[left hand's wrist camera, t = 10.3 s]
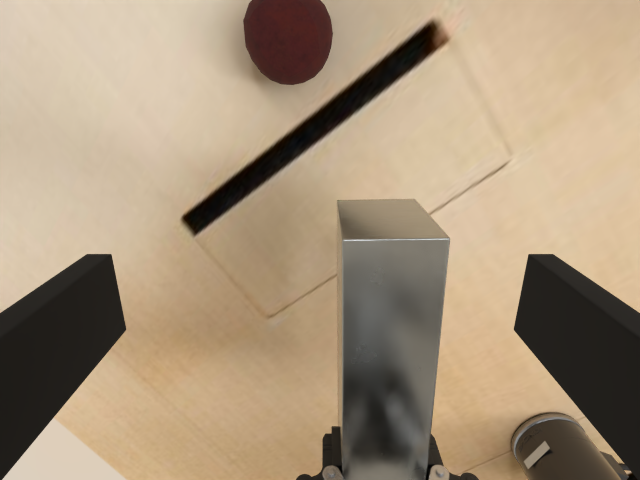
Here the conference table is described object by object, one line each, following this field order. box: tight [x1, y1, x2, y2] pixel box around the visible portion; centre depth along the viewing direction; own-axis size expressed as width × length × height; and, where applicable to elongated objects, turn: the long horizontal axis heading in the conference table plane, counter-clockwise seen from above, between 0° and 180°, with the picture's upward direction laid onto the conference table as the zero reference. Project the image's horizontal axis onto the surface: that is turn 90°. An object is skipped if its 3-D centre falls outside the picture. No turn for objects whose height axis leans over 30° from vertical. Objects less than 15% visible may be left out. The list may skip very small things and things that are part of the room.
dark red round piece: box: [244, 0, 333, 85], centre depth 33 cm, size 7×8×7 cm
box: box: [337, 199, 450, 480], centre depth 28 cm, size 22×6×9 cm, turn 1°
